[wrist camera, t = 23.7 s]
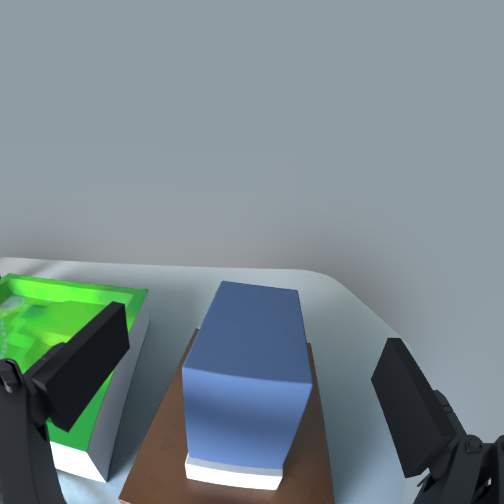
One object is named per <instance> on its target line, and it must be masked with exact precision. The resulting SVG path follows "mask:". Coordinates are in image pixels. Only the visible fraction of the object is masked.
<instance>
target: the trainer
mask: <svg viewBox="0 0 504 504" xmlns="http://www.w3.org/2000/svg"><path fill="white" fill-rule="evenodd" d="M182 379H183V396H184V411H185V423H186V434H187V444H188V455H187V458H186V462H185V467H186V474H187V478H190V479H194V480H199V481H204V482H210V483H216V484H222V485H229V486H236V487H245V488H255V489H269V490H276V489H277V488H278V486H279V484H280V482H281V479H282V477H283V464H284V461H285V459H286V457H287V454H288V452H289V449H290V447H291V444H292V442H293V439H294V437H295V434H296V432H297V429H298V427H299V424H300V421H301V419H302V416H303V413H304V410H305V408H306V405H307V402H308V399H309V396H310V393H311V390H312V387H313V379H312V373H311V366H310V360H309V354H308V347H307V341H306V335H305V329H304V324H303V318H302V312H301V307H300V301H299V296H298V291H297V290H291V289H282V288H274V287H266V286H258V285H250V284H243V283H235V282H228V281H222V282H221V284H220V286H219V288H218V290H217V292H216V294H215V297H214V299H213V301H212V303H211V305H210V307H209V310H208V312H207V314H206V316H205V318H204V320H203V323H202V325H201V327H200V329H199V331H198V333H197V336H196V338H195V340H194V342H193V344H192V347H191V349H190V351H189V353H188V355H187V358H186V360H185V362H184V364H183V367H182Z"/></svg>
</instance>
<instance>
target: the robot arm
mask: <svg viewBox="0 0 504 504" xmlns="http://www.w3.org/2000/svg"><path fill="white" fill-rule="evenodd" d="M129 349H130V343H129V336H128V328H127V319H126V309H125V304H124V303H119V302H115V301H112V302H111V303H109V304H108V305H107V306H106V307H105V308H104V309H103V310H102V311H100V312H99V313H98V314H97V315H96V316H95V317H94V318H93V319H91V320H90V321H89V322H88V323H87V324H86V325H85V326H84V327H83V328H82V329H80V330H79V331H78V332H77V333H76V334H75V335H74V336H73V337H72V338H71V339H70V340H69V341H68V342H66V343H65V342H60V343H58V344H56V345H54V346H52V347H51V348H50V349H49V350H48V351H47V352H46V354H44V355H42V356H41V359H40V358H39V359H38V360H37V361H36V362H35V363H34V364H33V365H32V366H31V367H30V368H29V369H28V370H27V371H26V372H25V373H24V374H23V375H22V372H21V370H20V368H19V365H18V363H17V362H16V361H15V360H13V359H11V358H4V359H0V493H1V495H2V501H3V504H65V501H64V498H63V494H62V491H61V487H60V484H59V480H58V476H57V472H56V468H55V463H54V459H53V454H52V448H51V443H50V437H49V430H48V425H47V423H46V421H47V419H48V418H49V417H50V419H51V421H52V422H53V424H54V426H56V427H58V428H60V429H61V430H63V431H65V432H67V433H69V431H70V430H71V428H72V427H73V425H74V424H75V423H76V421H77V420H78V418H79V417H80V415H81V414H82V413H83V411H84V410H85V408H86V407H87V406H88V404H89V403H90V401H91V400H92V399H93V397H94V396H95V394H96V393H97V392H98V390H99V389H100V388H101V386H102V385H103V383H104V382H105V381H106V379H107V378H108V377H109V375H110V374H111V373H112V371H113V370H114V369H115V367H116V366H117V365H118V363H119V362H120V361H121V359H122V358H123V357H124V355H125V354H126V353H127V351H128V350H129ZM371 381H372V384H373V386H374V389H375V391H376V394H377V397H378V399H379V402H380V405H381V407H382V410H383V413H384V416H385V419H386V421H387V424H388V427H389V430H390V433H391V436H392V439H393V442H394V445H395V448H396V451H397V454H398V457H399V460H400V463H401V466H402V470H403V473H404V476H405V478H409V477H413V476H417V475H421V474H422V472H424V471H425V470H426V469H427V468H429V471H430V473H429V474H428V475H427V476H426V477H425V478H424V479H423V480H422V481H421V482H420V483H419V484H418V485H417V486H418V487H419V486H420V485H421V484H422V483H423V485H422V487H421V489H420V491H419V493H418V495H417V497H416V499H415V501H414V503H413V504H504V435H502V436H500V437H499V438H498V439H497V440H496V442H495V443H482V441H481V440H480V439H479V438H478V437H477V436H475V435H467V434H466V432H465V430H464V429H463V427H462V425H461V423H460V421H459V420H458V418H457V416H456V414H455V413H453V409H452V407H451V406H450V404H449V402H448V401H447V399H446V397H445V396H444V395H443V394H442V393H440V392H439V391H438V390H432V388H431V386H430V384H429V383H428V381H427V379H426V378H425V376H424V374H423V373H422V371H421V370H420V368H419V366H418V365H417V363H416V361H415V360H414V358H413V357H412V355H411V354H410V352H409V350H408V349H407V347H406V346H405V344H404V343H403V341H402V340H401V338H388V339H387V342H386V344H385V347H384V349H383V352H382V354H381V357H380V359H379V362H378V364H377V366H376V369H375V371H374V373H373V376H372V378H371ZM489 479H491V484H490V485H488V480H489Z"/></svg>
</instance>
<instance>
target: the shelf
mask: <svg viewBox="0 0 504 504" xmlns="http://www.w3.org/2000/svg"><path fill="white" fill-rule="evenodd" d="M198 331H199V329H197V328H196V329H195V332H194V334H193V336H192V338H191V340H190V342H189V344H188V346H187V348H186V350H185V353H184V355H183V357H182V359H181V361H180V363H179V365H178V367H177V369H176V372H175V374H174V376H173V378H172V380H171V382H170V384H169V387H168V389H167V391H166V393H165V395H164V397H163V399H162V402H161V404H160V406H159V408H158V410H157V412H156V415H155V417H154V419H153V421H152V423H151V426H150V428H149V430H148V432H147V434H146V437H145V439H144V441H143V443H142V445H141V448H140V450H139V452H138V454H137V457H136V459H135V461H134V463H133V466H132V468H131V470H130V472H129V475H128V477H127V479H126V481H125V484H124V486H123V488H122V491H121V493H120V495H119V498H118V500H119V501H120V502H121V503H122V504H334V496H333V487H332V479H331V470H330V463H329V455H328V448H327V440H326V433H325V426H324V420H323V413H322V407H321V400H320V394H319V388H318V382H317V376H316V371H315V365H314V359H313V354H312V348H311V343H307V347H308V354H309V360H310V366H311V373H312V379H313V387H312V390H311V393H310V396H309V399H308V402H307V405H306V408H305V410H304V413H303V416H302V419H301V421H300V424H299V427H298V429H297V432H296V434H295V437H294V439H293V442H292V444H291V447H290V449H289V452H288V454H287V457H286V459H285V461H284V464H283V477H282V479H281V482H280V484H279V486H278V488H277V489H276V490H269V489H255V488H245V487H236V486H229V485H222V484H216V483H210V482H204V481H199V480H194V479H190V478H187V474H186V467H185V462H186V458H187V455H188V444H187V434H186V423H185V411H184V396H183V379H182V367H183V364H184V362H185V360H186V358H187V355H188V353H189V351H190V349H191V347H192V344H193V342H194V340H195V338H196V336H197V333H198Z"/></svg>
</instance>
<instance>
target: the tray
mask: <svg viewBox="0 0 504 504" xmlns="http://www.w3.org/2000/svg"><path fill="white" fill-rule="evenodd" d="M112 301H115V302H119V303H124V304H125V309H126V319H127V328H128V336H129V343H130V349H129V350H128V351H127V353H126V354H125V355H124V357H123V358H122V359H121V361H120V362H119V363H118V365H117V366H116V367H115V369H114V370H113V371H112V373H111V374H110V375H109V377H108V378H107V379H106V381H105V382H104V383H103V385H102V386H101V388H100V389H99V390H98V392H97V393H96V394H95V396H94V397H93V399H92V400H91V401H90V403H89V404H88V406H87V407H86V408H85V410H84V411H83V413H82V414H81V415H80V417H79V418H78V420H77V421H76V423H75V424H74V425H73V427H72V428H71V430H70V431H69V433H67V432H65V431H63V430H61V429H60V428H58V427H56V426H54V424H53V422H52V421H51V419H50V417H49V418H48V419H47V421H46V423H47V425H48V430H49V437H50V443H51V448H52V454H53V459H54V463H55V468H58V469H60V470H63V471H66V472H69V473H72V474H76V475H79V476H82V477H86V478H89V479H93V480H97V481H101V482H105V483H106V482H107V477H108V472H109V467H110V462H111V458H112V453H113V449H114V444H115V440H116V436H117V432H118V428H119V424H120V420H121V416H122V412H123V408H124V404H125V401H126V397H127V394H128V390H129V387H130V383H131V380H132V376H133V373H134V370H135V366H136V363H137V360H138V357H139V353H140V350H141V347H142V344H143V341H144V338H145V335H146V332H147V329H148V326H149V323H150V315H149V297H148V290H147V289H136V288H125V287H114V286H104V285H94V284H85V283H77V282H68V281H60V280H52V279H45V278H37V277H30V276H23V275H17V274H10V273H9V274H7V275H6V276H4V277H3V278H1V279H0V359H4V358H11V359H13V360H15V361H16V362H17V363H18V365H19V368H20V370H21V372H22V375H23V374H24V373H25V372H26V371H27V370H28V369H29V368H30V367H31V366H32V365H33V364H34V363H35V362H36V361H37V360H38V359H39V358H40V359H41V356H42V355H44V354H46V352H47V351H48V350H49V349H50V348H51V347H52V346H54V345H56V344H58V343H60V342H65V343H66V342H68V341H69V340H70V339H71V338H72V337H73V336H74V335H75V334H76V333H77V332H78V331H79V330H80V329H82V328H83V327H84V326H85V325H86V324H87V323H88V322H89V321H90V320H91V319H93V318H94V317H95V316H96V315H97V314H98V313H99V312H100V311H102V310H103V309H104V308H105V307H106V306H107V305H108V304H109V303H111V302H112Z"/></svg>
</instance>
